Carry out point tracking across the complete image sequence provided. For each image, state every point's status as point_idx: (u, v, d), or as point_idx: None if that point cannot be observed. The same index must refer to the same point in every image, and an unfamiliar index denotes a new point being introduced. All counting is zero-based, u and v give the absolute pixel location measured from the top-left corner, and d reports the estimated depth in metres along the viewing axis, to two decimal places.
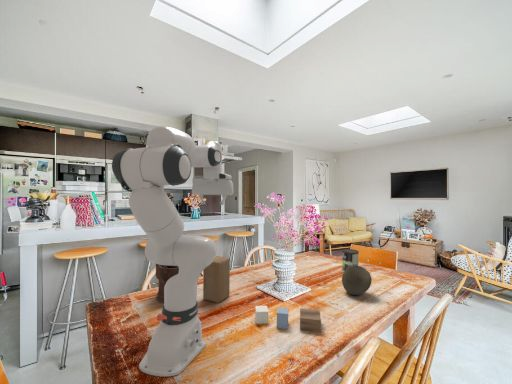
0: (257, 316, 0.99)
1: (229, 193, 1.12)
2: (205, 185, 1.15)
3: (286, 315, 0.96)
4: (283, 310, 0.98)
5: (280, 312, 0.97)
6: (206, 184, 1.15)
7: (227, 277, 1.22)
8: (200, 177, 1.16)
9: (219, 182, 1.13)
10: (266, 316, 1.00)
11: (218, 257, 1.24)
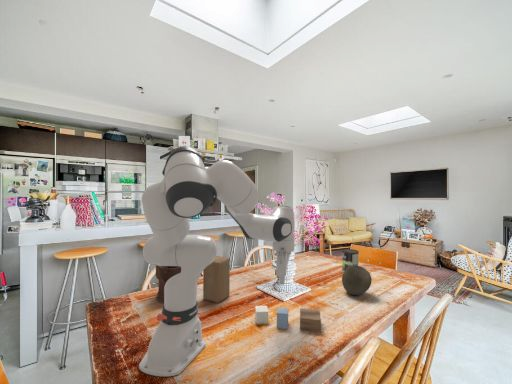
0: (257, 316, 0.99)
1: None
2: None
3: (286, 315, 0.96)
4: (283, 310, 0.98)
5: (280, 312, 0.97)
6: None
7: (227, 277, 1.22)
8: (283, 251, 0.92)
9: None
10: (266, 316, 1.00)
11: (218, 257, 1.24)
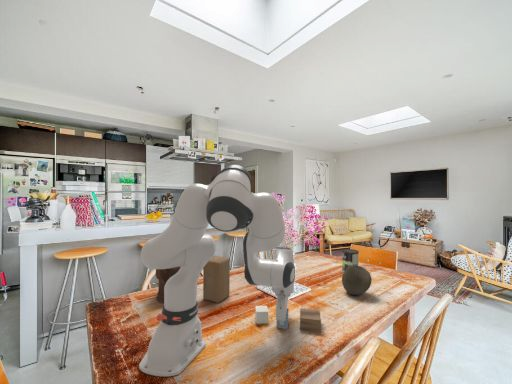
0: (257, 316, 0.99)
1: (288, 297, 1.07)
2: (286, 301, 0.95)
3: (286, 315, 0.96)
4: None
5: None
6: None
7: (227, 277, 1.22)
8: (282, 294, 0.92)
9: None
10: (266, 316, 1.00)
11: (218, 257, 1.24)
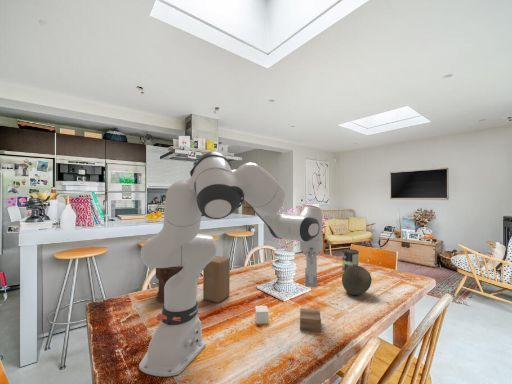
0: (257, 316, 0.99)
1: None
2: None
3: None
4: None
5: None
6: None
7: (227, 277, 1.22)
8: (312, 251, 0.91)
9: None
10: (266, 316, 1.00)
11: (218, 257, 1.24)
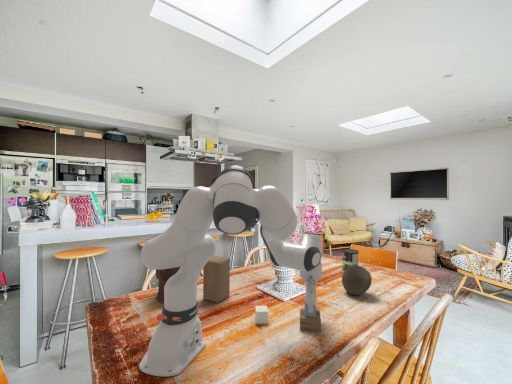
0: (257, 316, 0.99)
1: None
2: None
3: None
4: None
5: None
6: None
7: (227, 277, 1.22)
8: (312, 279, 0.92)
9: None
10: (266, 316, 1.00)
11: (218, 257, 1.24)
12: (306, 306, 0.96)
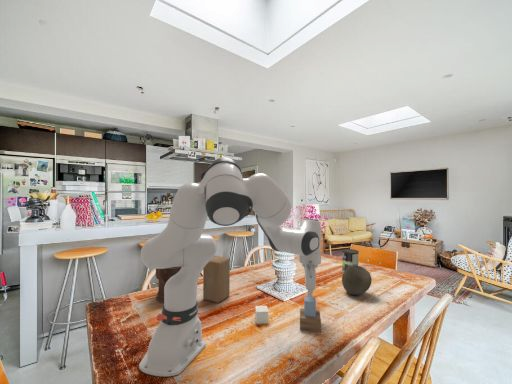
0: (257, 316, 0.99)
1: None
2: None
3: (314, 303, 0.96)
4: (310, 299, 0.98)
5: (308, 300, 0.97)
6: None
7: (227, 277, 1.22)
8: (311, 264, 0.92)
9: None
10: (266, 316, 1.00)
11: (218, 257, 1.24)
12: (306, 306, 0.96)
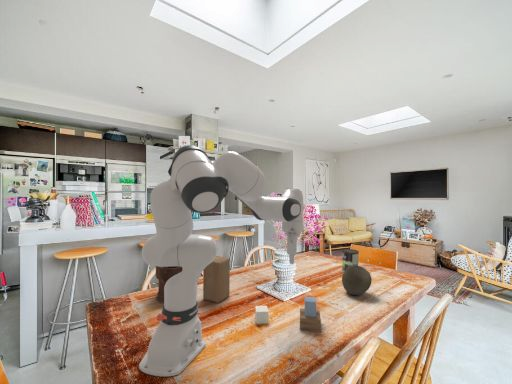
0: (257, 316, 0.99)
1: None
2: None
3: (314, 303, 0.96)
4: (311, 299, 0.98)
5: (308, 300, 0.97)
6: None
7: (227, 277, 1.22)
8: (293, 231, 0.95)
9: None
10: (266, 316, 1.00)
11: (218, 257, 1.24)
12: (306, 306, 0.96)
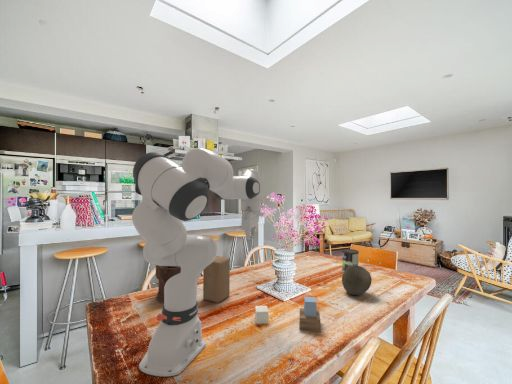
0: (257, 316, 0.99)
1: None
2: (252, 217, 1.03)
3: (315, 303, 0.96)
4: (310, 299, 0.98)
5: (308, 301, 0.96)
6: (252, 216, 1.04)
7: (227, 277, 1.22)
8: (248, 209, 1.00)
9: None
10: (266, 316, 1.00)
11: (218, 257, 1.24)
12: (306, 306, 0.96)
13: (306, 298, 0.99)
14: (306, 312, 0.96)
